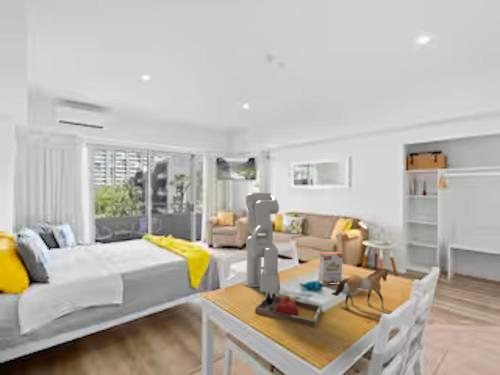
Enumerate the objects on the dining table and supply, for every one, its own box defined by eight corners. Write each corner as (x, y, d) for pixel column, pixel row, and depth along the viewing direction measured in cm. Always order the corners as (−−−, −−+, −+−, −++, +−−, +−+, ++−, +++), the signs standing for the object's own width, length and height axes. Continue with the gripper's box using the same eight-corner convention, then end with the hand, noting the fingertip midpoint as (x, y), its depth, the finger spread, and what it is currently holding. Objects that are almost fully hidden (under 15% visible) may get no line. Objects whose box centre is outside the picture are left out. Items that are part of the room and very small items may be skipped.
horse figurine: (385, 303, 153) (386, 267, 152) (392, 310, 145) (394, 272, 145) (330, 302, 152) (332, 266, 152) (335, 309, 145) (336, 271, 144)
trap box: (267, 298, 155) (267, 294, 155) (321, 310, 142) (321, 305, 142) (255, 312, 138) (255, 307, 138) (314, 327, 126) (314, 321, 126)
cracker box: (323, 286, 176) (324, 254, 176) (318, 282, 182) (319, 251, 182) (341, 284, 180) (342, 253, 180) (336, 281, 186) (337, 251, 185)
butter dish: (298, 319, 133) (299, 302, 133) (275, 317, 135) (275, 300, 134) (297, 308, 145) (298, 293, 144) (275, 306, 146) (276, 291, 146)
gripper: (254, 270, 144) (253, 304, 145) (281, 274, 138) (280, 310, 138) (260, 266, 151) (259, 298, 151) (286, 270, 145) (285, 304, 145)
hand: (269, 304), depth 145 cm, fingers closed
